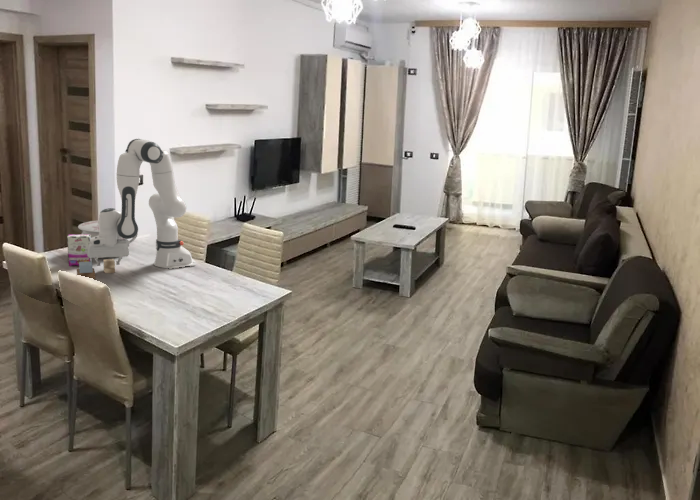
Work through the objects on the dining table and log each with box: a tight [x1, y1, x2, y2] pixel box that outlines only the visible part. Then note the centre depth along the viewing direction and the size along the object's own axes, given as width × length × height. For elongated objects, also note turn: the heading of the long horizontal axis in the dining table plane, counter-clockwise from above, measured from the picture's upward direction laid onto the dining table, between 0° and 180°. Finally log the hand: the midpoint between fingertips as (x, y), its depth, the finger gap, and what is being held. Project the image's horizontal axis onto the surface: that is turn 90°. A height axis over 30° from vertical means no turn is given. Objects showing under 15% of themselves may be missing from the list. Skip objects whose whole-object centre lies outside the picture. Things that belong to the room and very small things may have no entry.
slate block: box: [78, 260, 94, 273], centre depth 306 cm, size 6×6×4 cm
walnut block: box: [76, 267, 96, 280], centre depth 308 cm, size 8×8×4 cm
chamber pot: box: [77, 219, 138, 245], centre depth 346 cm, size 28×28×21 cm
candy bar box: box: [66, 234, 93, 267], centre depth 325 cm, size 11×5×16 cm, turn 105°
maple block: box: [103, 258, 116, 274], centre depth 319 cm, size 5×5×6 cm
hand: (108, 265), depth 318 cm, fingers open, 8 cm apart
